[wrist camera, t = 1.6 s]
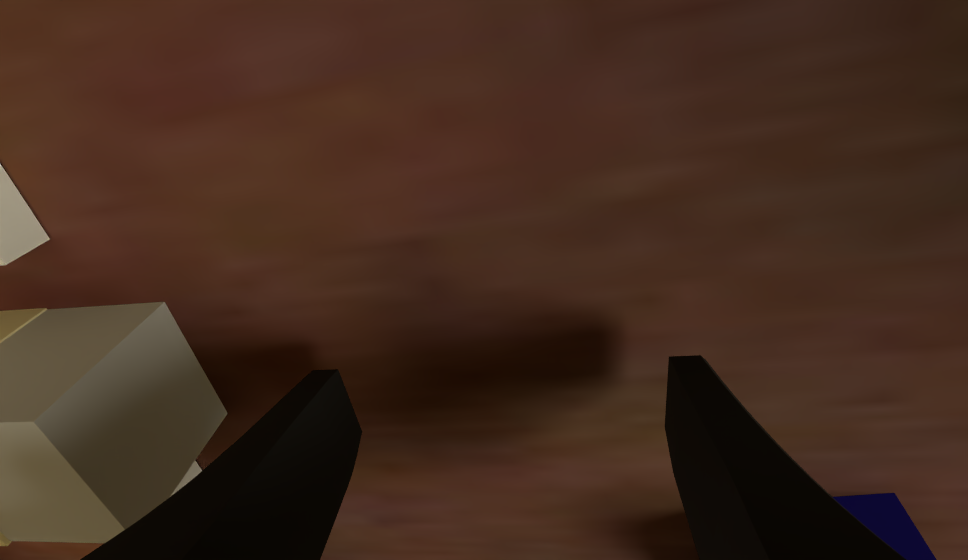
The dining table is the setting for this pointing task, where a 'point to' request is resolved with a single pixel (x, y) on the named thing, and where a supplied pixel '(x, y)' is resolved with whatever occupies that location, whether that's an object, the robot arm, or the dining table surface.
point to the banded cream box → (96, 419)
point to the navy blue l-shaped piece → (888, 523)
